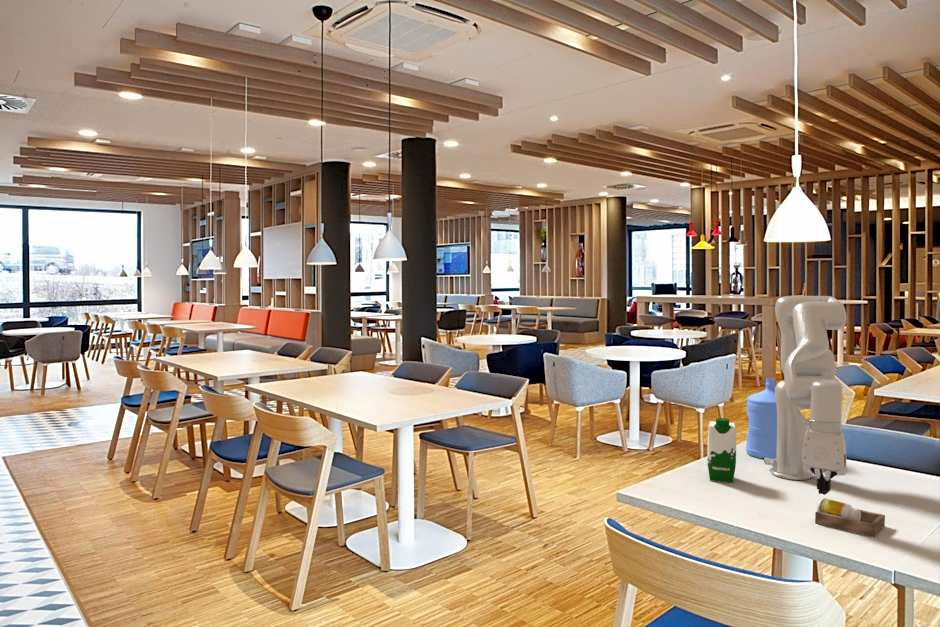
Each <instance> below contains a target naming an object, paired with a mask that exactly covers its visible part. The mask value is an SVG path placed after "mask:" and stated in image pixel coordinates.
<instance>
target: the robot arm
mask: <svg viewBox="0 0 940 627" xmlns="http://www.w3.org/2000/svg"><path fill="white" fill-rule="evenodd" d="M774 307H775V308H774V311H775V317H776V321H777V324H778V326H779V329H780V330H779V331H780V340H781V341H780V368H781V371H782V373H783V377H784V380H783V379H782V380H780V381H778V383H777V384H775V398H776V406H777V450H776V458H774V459H771V458H766V457H765V458H764V459H763V462H764V465H766V466H771V468H770V473H771V475H774V476H776V477H778V478H781V477H782V478H781V479H787V480H794V481H804V480H805V481H806V480H810V478H811V479H813V476H814V477H815V478H816V490H818V492H817V494H820V495H824V496H825V495H827V494H829V492H831V484H832V483H831V480H832V479H833V478H834V477H836V476H839V477H840V476H846V474H847V470H846V467H847V466H846V465H847V446H846V440H845V434H844V432H842V414H843V412H842V411H843V410H842V407H843V385H842V383H841V382H840V380H839V379H838V378H836V361H835V355H834V354H833V352H832V350H831V349H830V348H829V347H830V344H829V343H830V342H829V338H828V337H829V336H828V333H827V332H828V330H829V331H830V330H833V331H834V330H836V331H837V330H839V331H840V330H842V329H843V328H845V326H846V323H847V321H848V320H847V312H846V308H845V306H844V305H843V303H842V302H841V301H839V300H838V299H837V298H835V297H834V296H831V295H830V296H829V295H785V296H782V297H779V298H778V299H777V300H776V302H775V306H774ZM803 410H804V411H805V410H810V414H809V415H810V416H809V419H807V418H806V416H805V415H804V414H803V413H802V412H801V411H803ZM824 471H825V475H824Z"/></svg>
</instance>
